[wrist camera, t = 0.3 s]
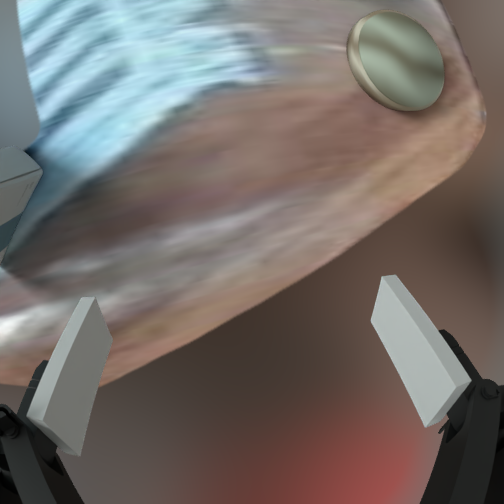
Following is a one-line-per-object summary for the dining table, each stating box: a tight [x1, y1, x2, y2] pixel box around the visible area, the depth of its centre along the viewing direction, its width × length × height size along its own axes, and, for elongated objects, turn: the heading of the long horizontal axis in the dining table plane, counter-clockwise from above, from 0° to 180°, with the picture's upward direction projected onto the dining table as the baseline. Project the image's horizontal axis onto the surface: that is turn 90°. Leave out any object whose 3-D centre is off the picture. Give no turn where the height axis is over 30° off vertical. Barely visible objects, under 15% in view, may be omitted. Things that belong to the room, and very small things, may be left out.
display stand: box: [347, 10, 445, 111], centre depth 30 cm, size 15×15×3 cm
